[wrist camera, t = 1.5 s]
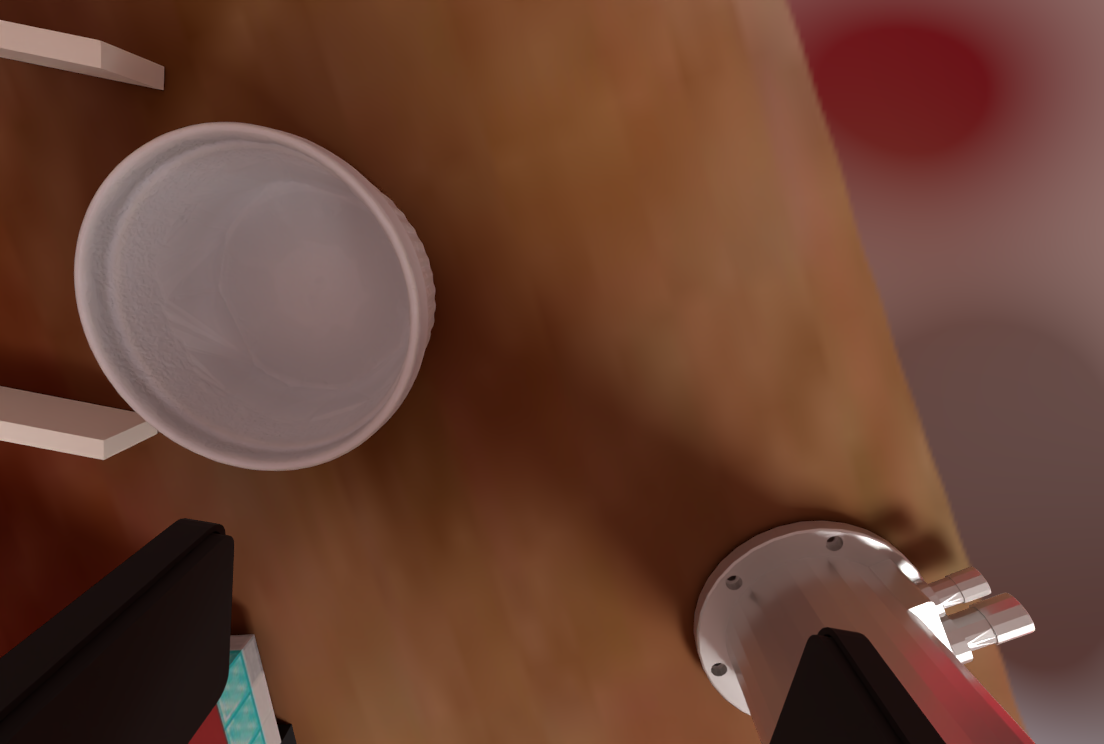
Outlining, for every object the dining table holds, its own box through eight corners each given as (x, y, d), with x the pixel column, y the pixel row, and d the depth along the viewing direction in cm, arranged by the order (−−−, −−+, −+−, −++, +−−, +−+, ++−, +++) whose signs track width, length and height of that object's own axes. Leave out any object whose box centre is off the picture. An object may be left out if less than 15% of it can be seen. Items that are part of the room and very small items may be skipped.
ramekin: (489, 385, 28) (464, 433, 22) (253, 444, 30) (160, 506, 23) (408, 115, 25) (350, 72, 19) (148, 192, 27) (5, 179, 20)
